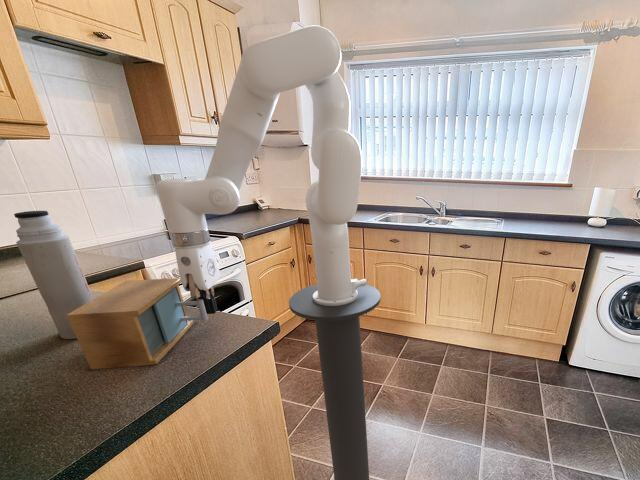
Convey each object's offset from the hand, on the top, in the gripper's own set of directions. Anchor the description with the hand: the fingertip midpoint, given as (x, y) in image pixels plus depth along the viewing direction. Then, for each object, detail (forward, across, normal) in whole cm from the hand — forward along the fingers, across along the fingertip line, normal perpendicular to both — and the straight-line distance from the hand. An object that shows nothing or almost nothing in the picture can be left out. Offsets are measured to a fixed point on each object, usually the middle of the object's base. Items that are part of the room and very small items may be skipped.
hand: (209, 312), depth 82 cm
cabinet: (+3, -8, +11) cm, 14 cm away
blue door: (+2, -6, +2) cm, 7 cm away
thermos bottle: (+4, +1, +30) cm, 30 cm away
